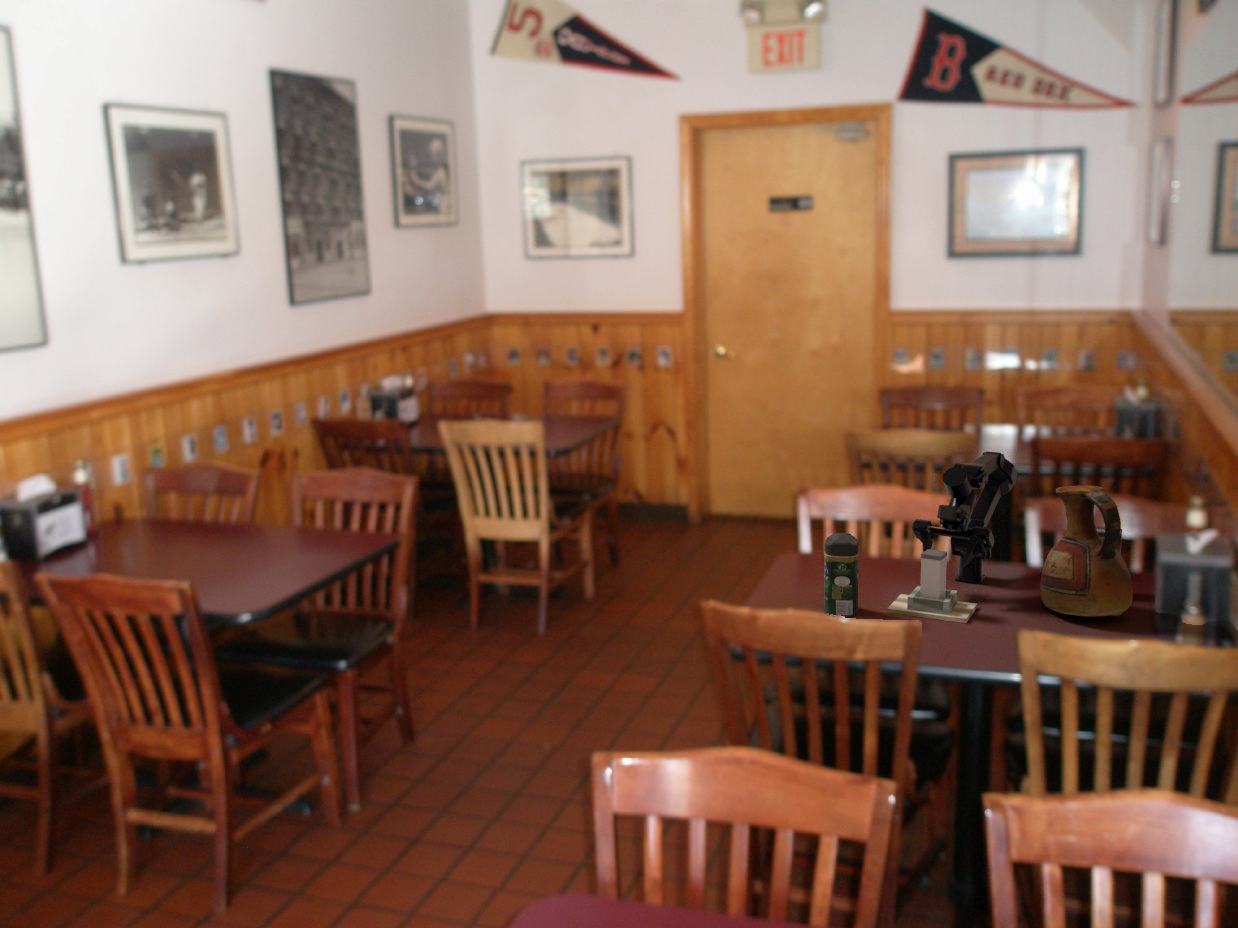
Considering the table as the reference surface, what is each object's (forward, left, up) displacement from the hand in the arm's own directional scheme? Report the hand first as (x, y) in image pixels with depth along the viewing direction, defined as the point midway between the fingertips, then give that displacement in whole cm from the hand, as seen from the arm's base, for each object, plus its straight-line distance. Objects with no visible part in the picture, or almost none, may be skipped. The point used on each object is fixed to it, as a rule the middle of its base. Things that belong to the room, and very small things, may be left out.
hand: (943, 563), depth 271 cm
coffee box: (-22, +32, -10) cm, 40 cm away
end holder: (+7, -1, -9) cm, 12 cm away
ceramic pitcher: (-5, +31, -10) cm, 33 cm away
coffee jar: (+17, -20, -10) cm, 28 cm away
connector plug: (+7, -1, -8) cm, 11 cm away
